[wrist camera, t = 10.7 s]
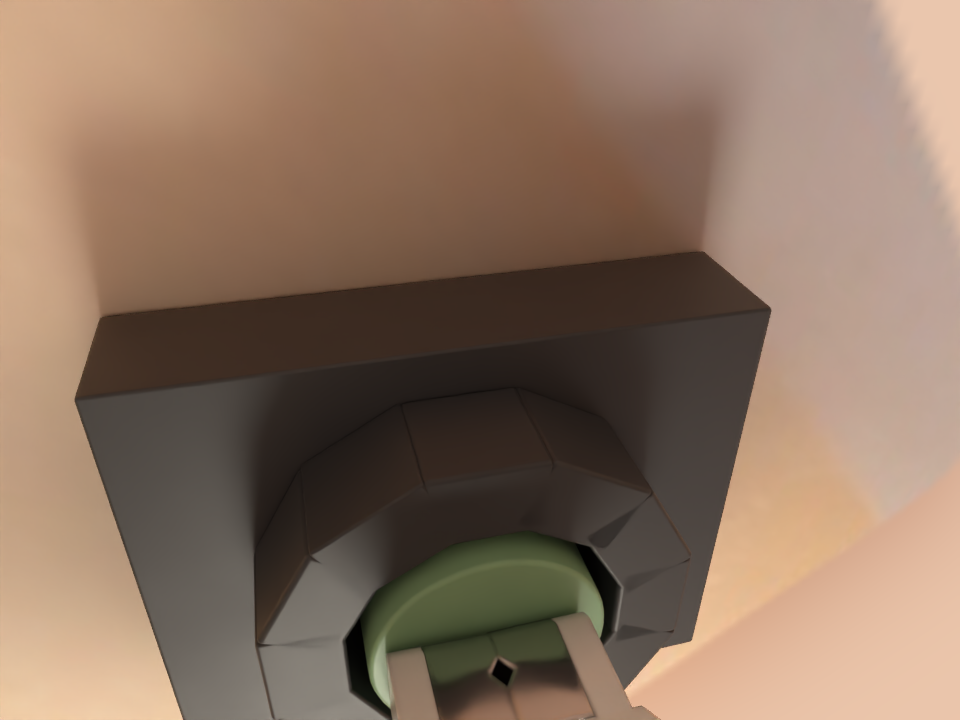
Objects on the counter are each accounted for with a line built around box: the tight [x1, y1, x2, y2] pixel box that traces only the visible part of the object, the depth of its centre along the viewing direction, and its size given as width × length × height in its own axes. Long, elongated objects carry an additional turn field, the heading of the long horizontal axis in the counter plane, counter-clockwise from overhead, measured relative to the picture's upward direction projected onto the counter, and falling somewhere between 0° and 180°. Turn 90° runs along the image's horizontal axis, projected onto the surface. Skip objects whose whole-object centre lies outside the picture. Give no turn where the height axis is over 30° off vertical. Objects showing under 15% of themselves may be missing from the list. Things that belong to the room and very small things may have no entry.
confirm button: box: [360, 531, 604, 709], centre depth 12 cm, size 4×4×2 cm
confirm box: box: [75, 252, 771, 720], centre depth 13 cm, size 10×8×4 cm
